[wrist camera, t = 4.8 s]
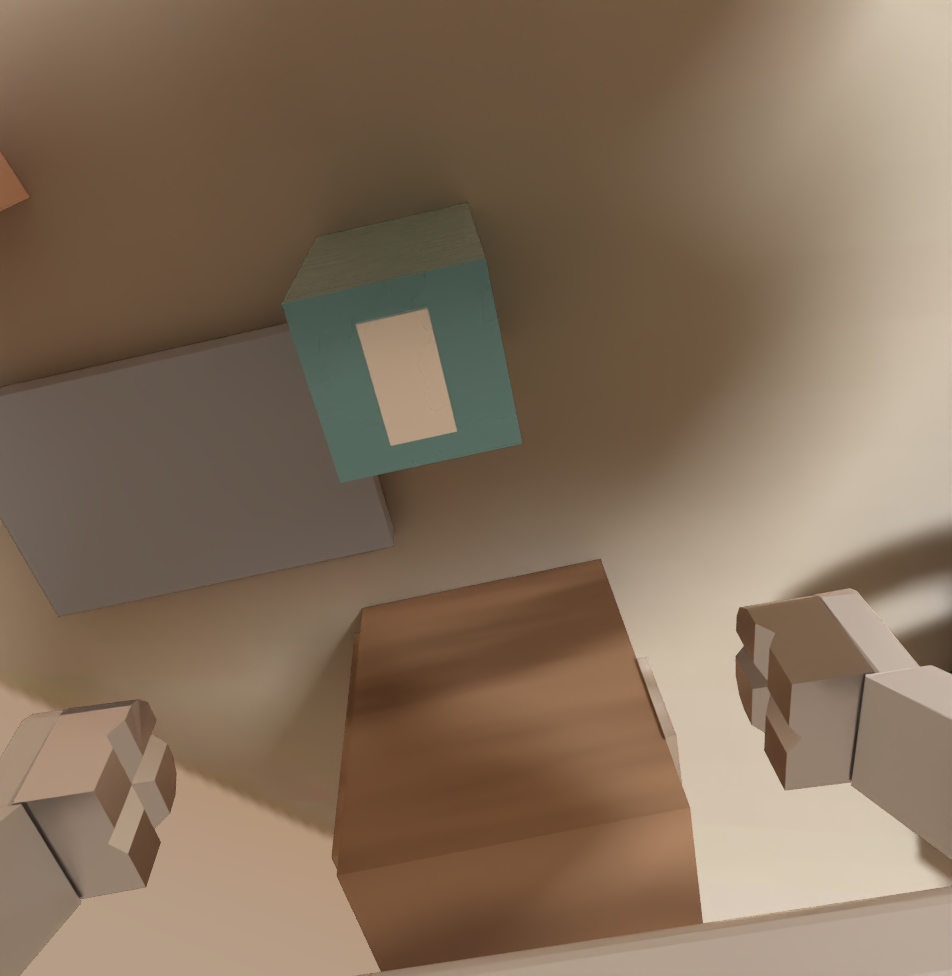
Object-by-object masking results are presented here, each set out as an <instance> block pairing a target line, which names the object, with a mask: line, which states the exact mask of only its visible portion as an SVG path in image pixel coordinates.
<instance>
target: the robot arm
mask: <svg viewBox="0 0 952 976" xmlns="http://www.w3.org/2000/svg"><path fill="white" fill-rule="evenodd" d="M736 631H737V633H738V635H739V637H740V639H741V641H742V642H743V644H744V647H743V648H742V649H741V650H740V652H739V653H738V654H737V655H736V679H737V684H738V690H739V695H740V698H741V701H742V704H743V707H744V710H745V712H746V714H747V716H748V718H749V720H750V722H751V724H752V725H753V726H755V727H756V728H758V729H760V730H761V731H763V732H764V733H765V748H764V751H765V753H766V755H767V756H768V758H769V760H770V762H771V764H772V766H773V768H774V770H775V772H776V774H777V776H778V778H779V780H780V782H781V784H782V786H783V788H784V790H793V789H801V788H809V787H817V786H825V785H833V784H841V783H849V782H852V783H851V786H853V787H854V788H855V789H857V790H858V791H859V792H861V793H862V794H863V795H865V796H866V797H867V798H869V799H870V800H871V801H873V802H874V803H875V804H877V805H878V806H879V807H881V808H882V809H884V810H885V811H886V812H888V813H889V814H890V815H892V816H893V817H894V818H896V819H897V820H898V821H900V822H901V823H902V824H904V825H905V826H906V827H908V828H909V829H910V830H912V831H913V832H914V833H916V834H917V835H919V836H920V837H921V838H923V839H924V840H925V841H927V842H928V843H929V844H931V845H932V846H933V847H935V848H936V849H937V850H939V851H940V852H941V853H943V854H944V855H945V856H947V857H948V858H949V859H951V860H952V674H950V673H948V672H946V671H943V670H941V669H939V668H937V667H935V666H932V665H928V666H921V667H920V666H919V665H918V664H917V662H916V661H915V660H914V659H913V658H912V656H911V655H910V654H909V653H908V652H907V650H906V649H905V648H904V647H903V646H902V644H901V643H900V642H899V641H898V640H897V638H896V637H895V636H894V635H893V634H892V632H891V631H890V630H889V629H888V628H887V626H886V625H885V624H884V623H883V622H882V620H881V619H880V618H879V617H878V616H877V614H876V613H875V612H874V611H873V610H872V608H871V607H870V606H869V605H868V604H867V602H866V601H865V600H864V599H863V598H862V596H861V595H860V594H859V593H858V592H857V591H855V590H853V589H851V588H848V589H842V590H836V591H831V592H825V593H819V594H814V595H813V596H807V597H800V598H794V599H788V600H782V601H775V602H769V603H763V604H757V605H750V606H744V607H740V608H739V611H738V614H737V624H736ZM155 723H156V718H155V716H154V714H153V712H152V710H151V708H150V706H149V704H148V702H145V701H142V700H139V699H138V700H131V701H123V702H115V703H108V704H100V705H92V706H85V707H77V708H69V709H68V710H59V711H51V712H44V713H36V714H32V715H30V716H29V717H27V718H26V719H24V720H23V721H22V722H21V724H20V726H19V727H18V729H17V731H16V732H15V734H14V736H13V738H12V739H11V741H10V742H9V744H8V746H7V748H6V749H5V751H4V753H3V754H2V756H1V758H0V976H20V974H21V973H22V972H23V971H24V970H25V969H26V967H27V966H28V965H29V964H30V963H31V962H32V960H33V959H34V958H35V957H36V956H37V954H38V953H39V952H40V951H41V950H42V949H43V947H44V946H45V945H46V944H47V943H48V942H49V940H50V939H51V938H52V937H53V936H54V934H55V933H56V932H57V931H58V929H59V928H60V927H61V926H62V925H63V924H64V923H65V921H66V920H67V919H68V918H69V917H70V915H71V914H72V913H73V912H74V911H75V910H76V908H77V907H78V906H79V905H80V904H81V900H80V899H84V898H89V897H95V896H101V895H106V894H112V893H117V892H123V891H128V890H134V889H139V888H145V887H146V885H147V882H148V879H149V876H150V873H151V870H152V867H153V864H154V861H155V858H156V855H157V852H158V849H159V846H160V843H161V842H160V840H159V838H158V836H157V834H156V832H155V830H154V829H155V828H156V827H157V826H158V825H159V824H160V823H161V822H162V821H163V820H164V819H165V817H167V816H168V815H169V814H170V811H171V808H172V804H173V801H174V798H175V791H176V769H175V764H174V759H173V755H172V753H171V751H170V748H169V746H168V744H167V743H166V742H164V741H163V740H161V739H159V738H158V737H156V736H154V735H153V734H151V733H152V731H153V728H154V725H155ZM357 976H952V886H950V887H943V888H936V889H930V890H923V891H916V892H910V893H903V894H896V895H890V896H883V897H876V898H869V899H863V900H856V901H849V902H843V903H836V904H829V905H823V906H816V907H809V908H803V909H796V910H789V911H783V912H776V913H769V914H763V915H756V916H749V917H743V918H736V919H729V920H723V921H716V922H709V923H703V924H696V925H689V926H683V927H676V928H670V929H663V930H656V931H650V932H643V933H636V934H630V935H623V936H616V937H610V938H603V939H596V940H590V941H583V942H577V943H570V944H563V945H557V946H550V947H543V948H537V949H530V950H523V951H517V952H510V953H503V954H497V955H490V956H483V957H477V958H470V959H463V960H457V961H450V962H443V963H437V964H430V965H423V966H417V967H410V968H403V969H397V970H390V971H383V972H377V973H370V974H363V975H357Z"/></svg>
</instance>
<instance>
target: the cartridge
mask: <svg viewBox="0 0 952 976" xmlns="http://www.w3.org/2000/svg"><path fill="white" fill-rule="evenodd" d="M281 305H282V308H283V311H284V314H285V317H286V320H287V323H288V326H289V329H290V332H291V335H292V338H293V341H294V344H295V347H296V350H297V353H298V356H299V359H300V362H301V365H302V368H303V371H304V374H305V377H306V380H307V383H308V386H309V389H310V392H311V395H312V398H313V401H314V404H315V407H316V410H317V413H318V416H319V419H320V422H321V426H322V429H323V432H324V435H325V438H326V441H327V444H328V447H329V450H330V453H331V456H332V459H333V462H334V465H335V468H336V471H337V474H338V477H339V480H340V483H343V482H347V481H352V480H357V479H361V478H366V477H371V476H375V475H380V474H385V473H389V472H394V471H399V470H403V469H408V468H412V467H417V466H422V465H426V464H431V463H436V462H440V461H445V460H450V459H454V458H459V457H464V456H468V455H473V454H478V453H482V452H487V451H492V450H496V449H501V448H505V447H510V446H515V445H519V444H522V439H521V434H520V428H519V423H518V418H517V413H516V408H515V403H514V398H513V393H512V388H511V383H510V378H509V373H508V368H507V363H506V358H505V353H504V348H503V343H502V338H501V333H500V328H499V323H498V317H497V312H496V307H495V302H494V297H493V292H492V287H491V282H490V277H489V272H488V267H487V262H486V257H485V254H484V251H483V248H482V245H481V242H480V239H479V236H478V233H477V230H476V227H475V224H474V221H473V218H472V215H471V212H470V209H469V206H468V203H463V204H459V205H455V206H450V207H446V208H442V209H437V210H433V211H428V212H424V213H420V214H415V215H411V216H407V217H402V218H398V219H393V220H389V221H385V222H380V223H376V224H372V225H367V226H363V227H358V228H354V229H350V230H345V231H341V232H336V233H332V234H328V235H323V236H319V237H316V239H315V241H314V243H313V245H312V247H311V248H310V250H309V252H308V254H307V256H306V258H305V260H304V262H303V264H302V266H301V267H300V269H299V271H298V273H297V275H296V277H295V279H294V281H293V283H292V285H291V286H290V288H289V290H288V292H287V294H286V296H285V298H284V300H283V302H282V304H281Z"/></svg>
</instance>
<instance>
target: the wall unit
mask: <svg viewBox="0 0 952 976" xmlns="http://www.w3.org/2000/svg"><path fill="white" fill-rule="evenodd" d="M332 859H333V862H334V864H335V866H336V868H337V877H338V880H339V881H340V884H341V886H342V888H343V890H344V893H345V895H346V897H347V899H348V901H349V903H350V906H351V908H352V910H353V912H354V914H355V916H356V919H357V920H358V923H359V925H360V927H361V929H362V931H363V933H364V936H365V938H366V940H367V942H368V944H369V947H370V949H371V951H372V953H373V955H374V957H375V960H376V962H377V964H378V966H379V968H380V970H381V972H383V971H390V970H397V969H403V968H410V967H417V966H423V965H430V964H437V963H443V962H450V961H457V960H463V959H470V958H477V957H483V956H490V955H497V954H503V953H510V952H517V951H523V950H530V949H537V948H543V947H550V946H557V945H563V944H570V943H577V942H583V941H590V940H596V939H603V938H610V937H616V936H623V935H630V934H636V933H643V932H650V931H656V930H663V929H670V928H676V927H683V926H689V925H696V924H703V921H702V912H701V903H700V894H699V885H698V876H697V867H696V858H695V849H694V840H693V831H692V822H691V813H690V806H689V803H688V801H687V798H686V795H685V792H684V790H683V787H682V780H681V771H680V763H679V754H678V745H677V737H676V733H675V731H674V728H673V725H672V723H671V720H670V717H669V715H668V712H667V709H666V707H665V704H664V701H663V699H662V696H661V693H660V691H659V688H658V686H657V683H656V680H655V678H654V675H653V672H652V670H651V667H650V664H649V662H648V659H647V657H643V658H638V659H636V656H635V653H634V651H633V648H632V645H631V642H630V640H629V637H628V634H627V631H626V628H625V626H624V623H623V620H622V617H621V615H620V612H619V609H618V606H617V603H616V601H615V598H614V595H613V592H612V590H611V587H610V584H609V581H608V578H607V576H606V573H605V570H604V567H603V565H602V562H601V559H599V560H594V561H589V562H584V563H579V564H575V565H570V566H565V567H560V568H555V569H550V570H546V571H541V572H536V573H531V574H526V575H522V576H517V577H512V578H507V579H502V580H497V581H493V582H488V583H483V584H478V585H473V586H469V587H464V588H459V589H454V590H449V591H445V592H440V593H435V594H430V595H425V596H420V597H416V598H411V599H406V600H401V601H396V602H392V603H387V604H382V605H377V606H372V607H368V608H363V609H362V618H361V629H360V633H355V638H354V648H353V658H352V667H351V677H350V686H349V696H348V705H347V715H346V724H345V734H344V744H343V753H342V763H341V772H340V782H339V791H338V801H337V811H336V820H335V830H334V839H333V849H332Z"/></svg>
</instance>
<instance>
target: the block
mask: <svg viewBox="0 0 952 976" xmlns="http://www.w3.org/2000/svg"><path fill="white" fill-rule="evenodd" d="M28 198H30V197H29V195H28V194H27V192H26V191H25V189H24V188H23V186H22V185H21V183H20V181H19V180H18V178H17V177H16V175H15V174H14V172H13V171H12V169H11V168H10V166H9V165H8V163H7V161H6V160H5V158H4V157H3V155H2V154H1V152H0V211H2V210H4V209H6V208H8V207H11V206H13V205H15V204H17V203H19V202H21V201H23V200H26V199H28Z"/></svg>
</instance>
